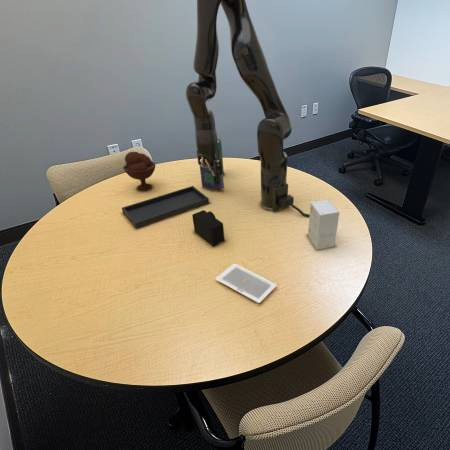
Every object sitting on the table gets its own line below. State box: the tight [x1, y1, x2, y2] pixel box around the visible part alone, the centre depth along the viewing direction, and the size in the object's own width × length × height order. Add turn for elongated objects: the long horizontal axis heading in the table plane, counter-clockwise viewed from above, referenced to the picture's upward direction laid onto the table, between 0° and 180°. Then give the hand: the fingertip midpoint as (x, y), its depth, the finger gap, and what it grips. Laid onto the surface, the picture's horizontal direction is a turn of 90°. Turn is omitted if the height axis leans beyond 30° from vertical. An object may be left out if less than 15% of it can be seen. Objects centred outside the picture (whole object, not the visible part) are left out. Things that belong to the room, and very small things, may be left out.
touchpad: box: [214, 262, 278, 304], centre depth 90 cm, size 8×15×2 cm, turn 58°
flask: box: [199, 164, 225, 191], centre depth 129 cm, size 9×3×11 cm, turn 75°
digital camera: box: [191, 209, 225, 247], centre depth 105 cm, size 10×5×7 cm, turn 47°
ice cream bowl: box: [122, 151, 156, 192], centre depth 126 cm, size 11×11×15 cm
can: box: [215, 137, 225, 176], centre depth 139 cm, size 6×6×15 cm
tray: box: [121, 185, 210, 230], centre depth 119 cm, size 12×26×2 cm, turn 133°
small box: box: [307, 199, 340, 251], centre depth 105 cm, size 8×6×13 cm
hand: (211, 180), depth 130 cm, fingers closed on flask, 7 cm apart
